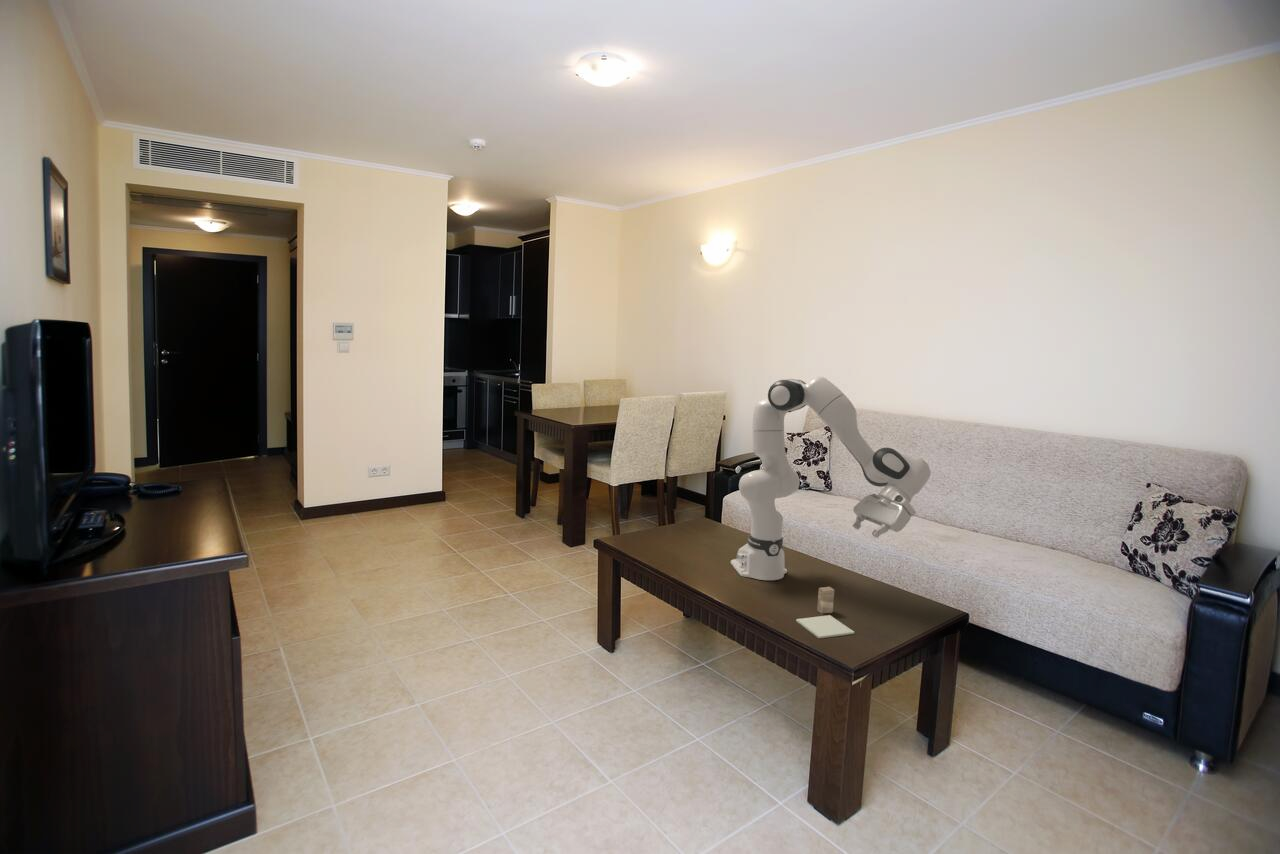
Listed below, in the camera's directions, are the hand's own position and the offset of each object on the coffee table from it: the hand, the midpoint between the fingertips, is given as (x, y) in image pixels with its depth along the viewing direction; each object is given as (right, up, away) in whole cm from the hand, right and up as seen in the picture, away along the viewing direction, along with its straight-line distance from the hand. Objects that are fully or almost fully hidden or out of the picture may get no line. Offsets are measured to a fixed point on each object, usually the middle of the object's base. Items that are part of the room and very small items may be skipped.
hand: (864, 531), depth 206 cm
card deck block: (-13, -25, -1) cm, 28 cm away
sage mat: (-16, -26, -12) cm, 33 cm away
